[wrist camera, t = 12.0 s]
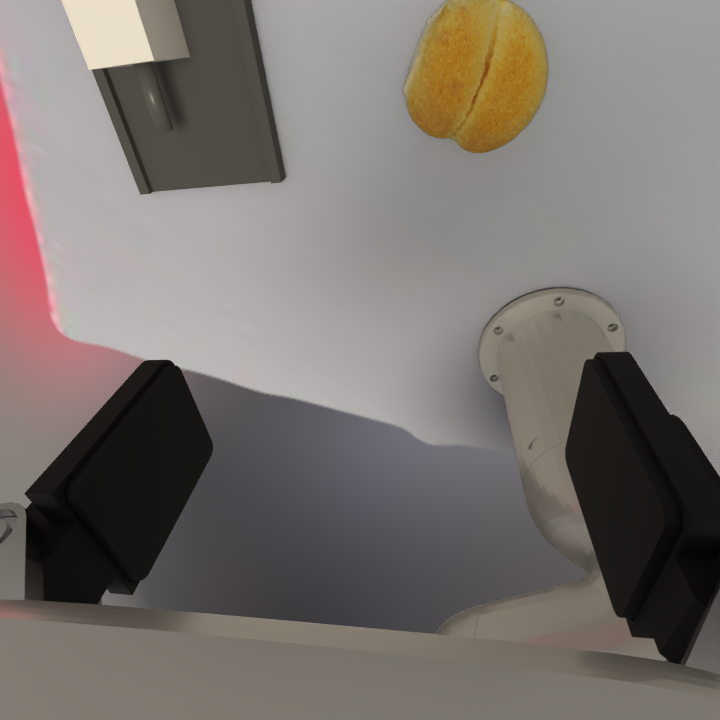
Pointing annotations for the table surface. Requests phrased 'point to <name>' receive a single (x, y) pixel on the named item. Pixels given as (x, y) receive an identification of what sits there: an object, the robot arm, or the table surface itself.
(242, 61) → the dark grey flat tray
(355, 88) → the table surface
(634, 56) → the table surface
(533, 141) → the table surface
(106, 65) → the plug
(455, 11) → the bread roll
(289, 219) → the table surface
